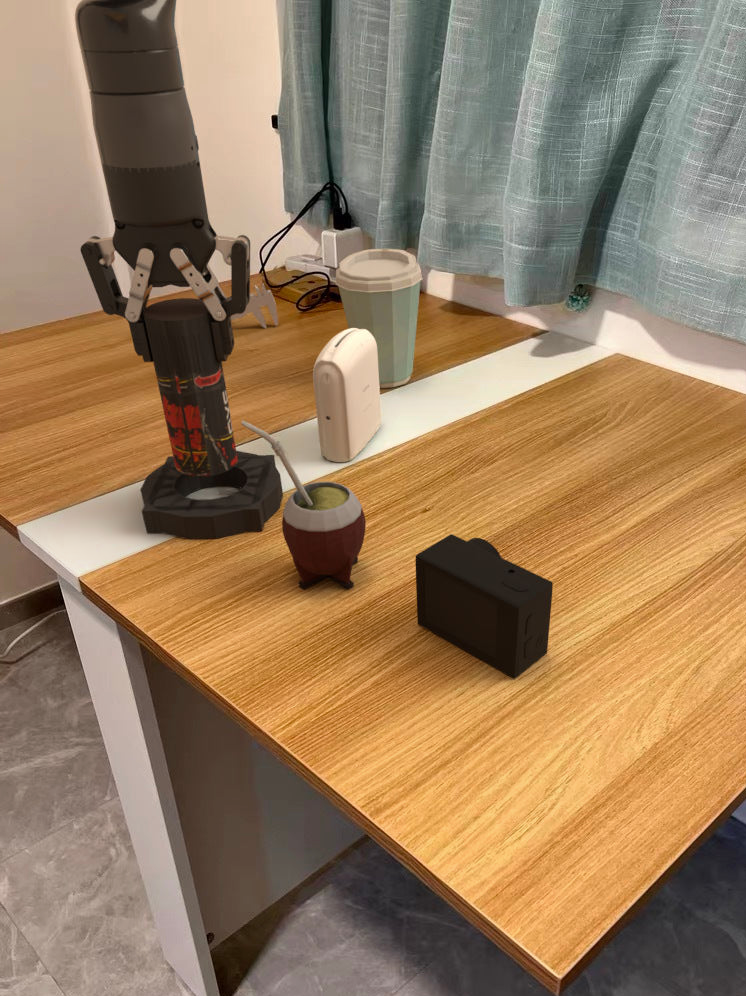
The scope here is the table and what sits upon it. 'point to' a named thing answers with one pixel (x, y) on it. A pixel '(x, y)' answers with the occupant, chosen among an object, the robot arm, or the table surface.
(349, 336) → the photo printer
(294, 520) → the mate gourd
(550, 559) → the table surface
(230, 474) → the dock pad
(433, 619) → the digital camera
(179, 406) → the deodorant
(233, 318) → the caliper
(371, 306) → the disposable coffee cup
